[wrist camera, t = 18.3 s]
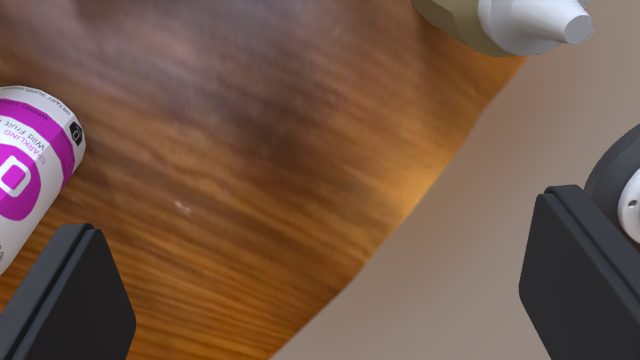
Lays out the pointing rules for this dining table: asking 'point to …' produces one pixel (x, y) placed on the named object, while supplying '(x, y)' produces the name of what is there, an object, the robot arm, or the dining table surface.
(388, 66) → the dining table surface
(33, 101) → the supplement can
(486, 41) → the squeeze bottle
